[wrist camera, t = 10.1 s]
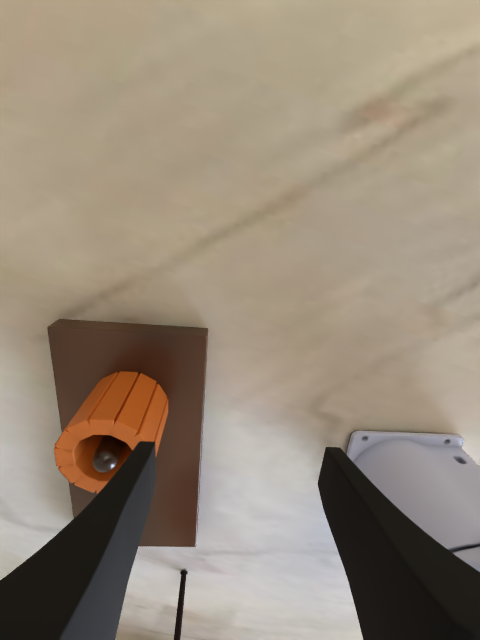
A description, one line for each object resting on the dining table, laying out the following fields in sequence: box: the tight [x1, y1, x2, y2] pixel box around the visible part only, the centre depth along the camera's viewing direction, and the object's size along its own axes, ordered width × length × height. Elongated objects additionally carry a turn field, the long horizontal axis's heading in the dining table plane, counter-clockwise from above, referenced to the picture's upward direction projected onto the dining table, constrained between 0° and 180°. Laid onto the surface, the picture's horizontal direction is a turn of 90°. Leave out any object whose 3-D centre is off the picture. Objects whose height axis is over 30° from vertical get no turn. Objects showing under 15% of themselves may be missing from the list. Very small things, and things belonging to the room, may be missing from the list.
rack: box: [48, 319, 208, 547], centre depth 21 cm, size 10×20×7 cm, turn 175°
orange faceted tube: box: [54, 371, 168, 494], centre depth 19 cm, size 5×5×5 cm
